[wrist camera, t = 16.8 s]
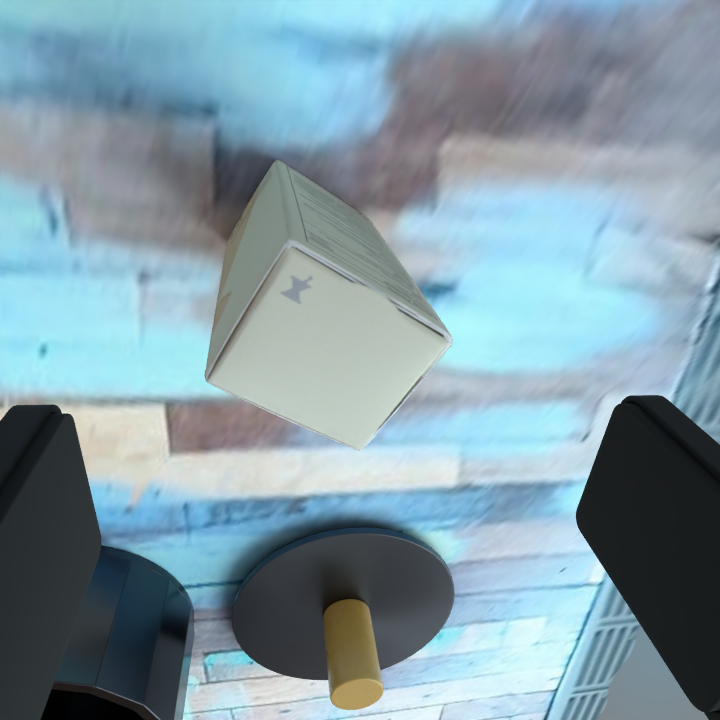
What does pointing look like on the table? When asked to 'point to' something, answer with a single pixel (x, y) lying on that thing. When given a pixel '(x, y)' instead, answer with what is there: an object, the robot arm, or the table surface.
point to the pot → (126, 646)
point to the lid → (343, 608)
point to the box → (318, 314)
